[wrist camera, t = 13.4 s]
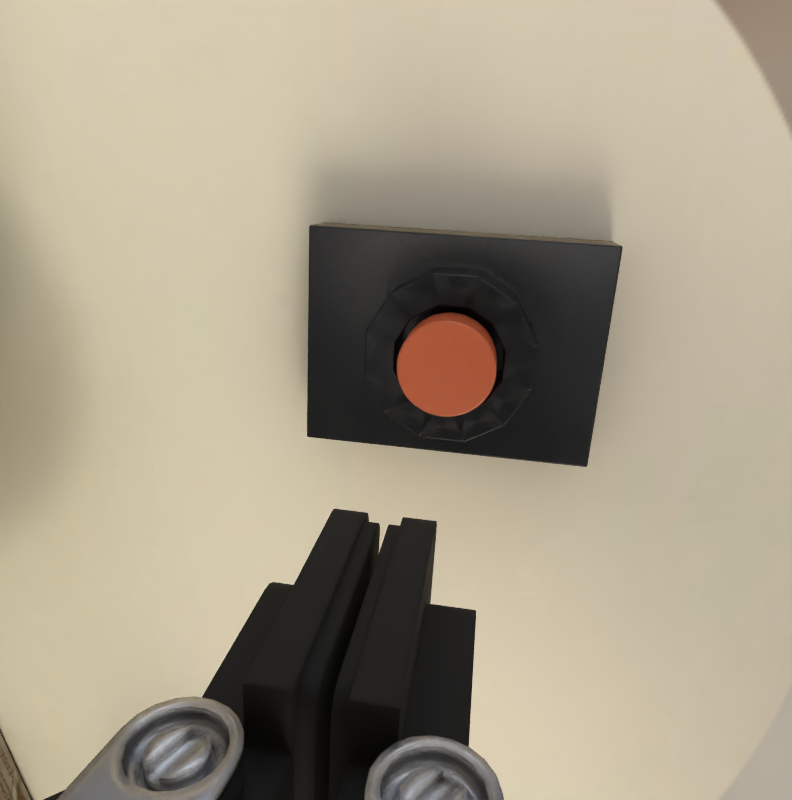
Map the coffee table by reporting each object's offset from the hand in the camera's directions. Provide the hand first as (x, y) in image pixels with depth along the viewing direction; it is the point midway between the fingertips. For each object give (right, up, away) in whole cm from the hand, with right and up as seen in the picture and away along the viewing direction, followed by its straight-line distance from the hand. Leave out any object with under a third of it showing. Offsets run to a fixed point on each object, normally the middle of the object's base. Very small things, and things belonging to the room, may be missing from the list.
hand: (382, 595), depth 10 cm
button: (+2, +5, +14) cm, 15 cm away
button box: (+3, +6, +18) cm, 19 cm away
